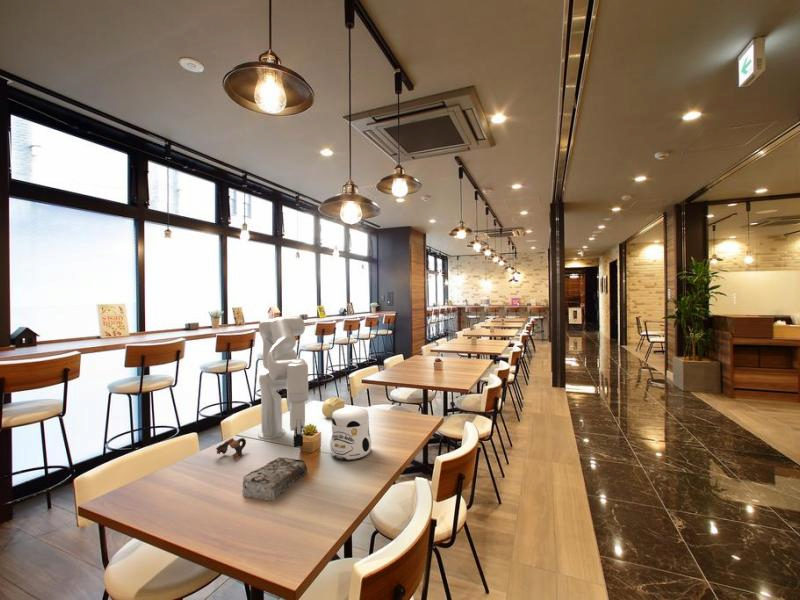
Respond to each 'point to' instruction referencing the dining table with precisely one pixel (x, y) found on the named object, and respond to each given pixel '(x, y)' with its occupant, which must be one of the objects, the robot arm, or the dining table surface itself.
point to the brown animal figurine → (233, 444)
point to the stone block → (273, 478)
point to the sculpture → (332, 406)
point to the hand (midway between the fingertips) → (298, 445)
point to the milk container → (350, 434)
